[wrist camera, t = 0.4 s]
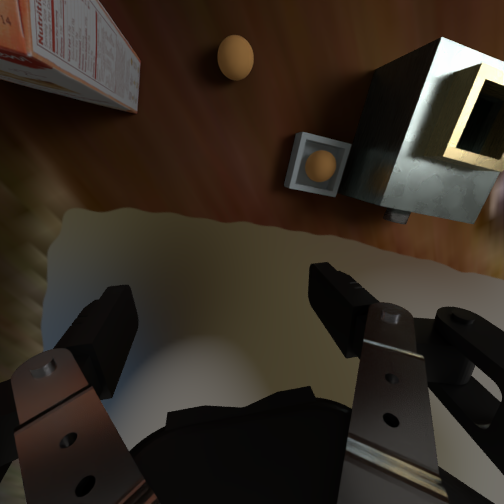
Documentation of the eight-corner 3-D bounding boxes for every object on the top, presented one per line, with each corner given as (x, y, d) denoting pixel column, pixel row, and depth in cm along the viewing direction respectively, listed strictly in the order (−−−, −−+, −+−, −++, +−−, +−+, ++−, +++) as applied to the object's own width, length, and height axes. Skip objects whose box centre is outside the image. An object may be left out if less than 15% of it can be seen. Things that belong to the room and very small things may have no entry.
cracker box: (-1, 84, 27) (-508, -87, 8) (-7, 14, 25) (-703, -440, 6) (139, 119, 30) (26, 60, 11) (143, 60, 28) (15, -134, 9)
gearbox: (375, 69, 33) (467, 24, 21) (459, 98, 36) (578, 72, 25) (333, 206, 39) (388, 228, 27) (408, 220, 42) (486, 245, 30)
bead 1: (219, 38, 29) (221, 22, 25) (253, 49, 30) (260, 35, 26) (214, 79, 30) (215, 68, 26) (246, 88, 31) (252, 79, 27)
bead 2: (305, 147, 34) (317, 146, 30) (331, 153, 35) (346, 153, 31) (297, 177, 35) (308, 180, 32) (323, 182, 36) (336, 186, 33)
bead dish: (296, 133, 34) (302, 131, 32) (342, 144, 35) (351, 144, 33) (283, 185, 36) (289, 188, 34) (327, 194, 38) (335, 197, 35)
